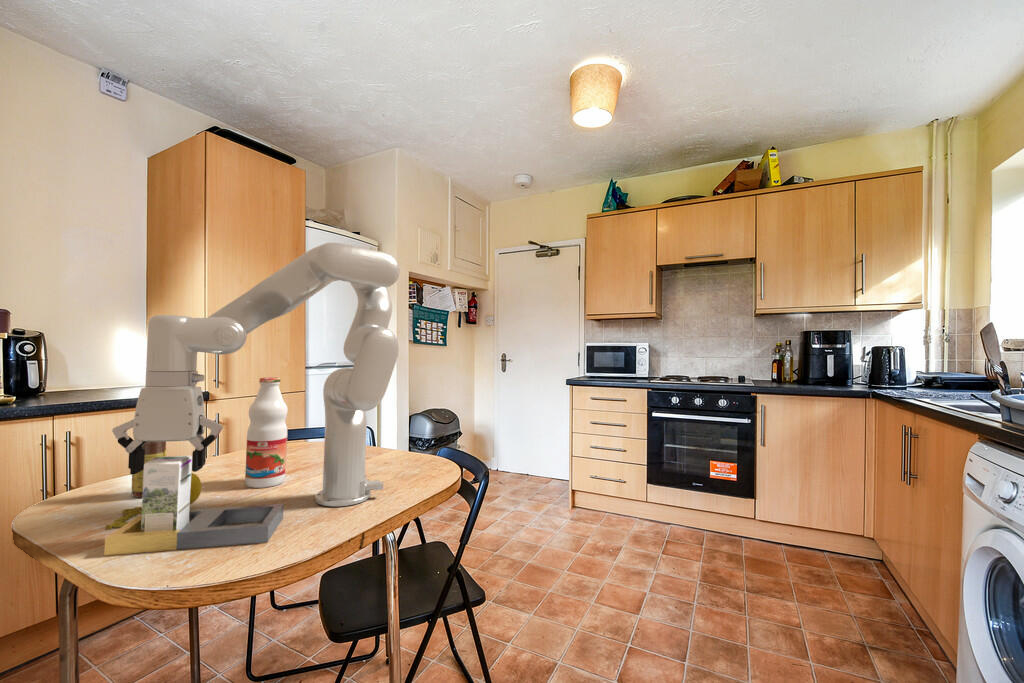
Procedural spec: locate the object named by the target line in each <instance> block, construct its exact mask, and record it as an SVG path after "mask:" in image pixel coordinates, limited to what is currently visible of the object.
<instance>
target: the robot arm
mask: <svg viewBox="0 0 1024 683" xmlns="http://www.w3.org/2000/svg"><path fill="white" fill-rule="evenodd" d="M400 274H401V272H400V266H399V263H398V262H397V260H396V258H394V257H393V256H392V255H391V254H390V253H387V252H385V251H380V250H375V249H370V248H366V247H361V246H356V245H352V244H346V243H342V242H341V243H340V242H326V243H323V244H321V245H318V246H316V247H313V248H312V249H310V250H307V251H306V252H305V253H303V254H301V255H300V256H298V257H297V258H296V259H294V260H292V261H291V262H289V263H287V264H286V265H285V266H283V267H281V268H280V269H279V270H277V271H276V272H274V273H272V274H271V275H269V276H268V277H266V278H265V279H263V280H262V281H260V282H259V283H257V284H255V285H253V287H251V288H250V289H249V290H248V291H246V292H245V293H244V294H241V295H240V296H238V297H237V298H236V299H234V300H232V301H231V302H228V304H226V305H225V306H222V307H221V308H220V309H218V310H216V311H215V312H214V313H213V314H211V315H209V316H208V317H192V316H186V315H176V314H174V315H173V314H155V315H152V316H151V317H150V318H149V320H148V321H147V322H148V323H147V337H146V338H147V341H146V362H145V364H146V365H145V387H142V388H140V391H139V395H138V396H137V397H138V398H137V402H136V405H135V410H134V417H133V418H132V419H131V420H129V421H127V422H124V423H121V424H119V425H118V426H116V427H113V428H112V429H111V432H112V434H113V435H114V437H115V439H117V443H118V444H119V445H120V446H121V447H123V448H124V450H125V452H126V453H128V470H129V474H130V475H132V474H136V473H138V472H140V471H142V470H144V459H145V450H144V449H142V446H143V445H144V444H145V443H146V442H166V443H167V442H186V441H188V442H189V443H190V444H191V445H192V446H193V447H194V449H195V450H193V451H192V455H191V456H192V470H191V472H192V473H194V472H198V471H200V470H201V469H203V468H204V466H205V465H206V461H207V460H206V458H207V447H209V445H211V444H212V443H213V442H215V441H216V440H217V438H218V436H219V435H220V434H221V432H222V430H223V429H224V426H223V425H222V424H221V423H218V422H217V421H214V420H212V419H209V418H207V417H206V415H205V414H206V412H205V404H204V403H205V401H204V395H203V390H202V387H201V386H196V385H198V383H199V382H204V381H205V374H200V373H199V372H198V369H197V366H198V363H197V362H198V353H199V352H200V353H206V354H207V353H208V354H214V355H225V356H226V355H230V354H231V355H232V354H234V353H236V352H238V351H239V350H241V349H242V348H243V347H244V346H245V344H246V342H247V339H248V334H250V333H251V332H253V331H254V330H256V329H258V328H259V327H261V326H262V325H264V324H266V323H268V322H271V321H273V320H275V319H278V318H280V317H282V316H285V315H287V314H289V313H291V312H292V311H295V310H296V309H297V308H299V307H300V306H301V305H302V304H304V303H305V302H306V301H308V300H309V299H310V298H312V297H313V296H314V295H316V294H317V293H318V292H320V291H322V290H323V289H324V288H326V287H328V285H330V284H331V283H333V282H338V281H341V282H342V281H343V282H348V283H350V285H351V286H352V288H353V290H354V291H355V294H356V296H357V308H356V312H355V315H354V317H353V320H352V323H351V325H350V328H349V330H348V333H347V335H346V337H345V340H344V343H343V354H344V356H345V358H346V359H347V360H348V361H349V362H351V363H353V366H352V368H351V367H350V368H349V367H343V368H339V369H335V370H334V371H332V372H331V373H330V374H329V375H328V376H327V378H326V380H325V381H324V384H323V389H322V391H323V393H322V396H323V406H324V420H325V422H324V446H323V448H324V449H323V469H322V471H323V472H322V473H323V474H322V490H319V491H318V492H316V494H315V495H314V501H315V503H317V504H318V505H321V506H325V507H347V506H353V505H357V504H361V503H362V502H365V501H367V500H368V499H369V498H370V497H371V495H372V494H371V493H372V492H371V491H372V490H373V491H381V490H384V481H379V479H373V480H369V479H367V474H366V449H367V426H368V422H367V413H366V412H368V411H372V410H373V409H375V408H377V407H378V405H379V404H380V403H381V402H382V400H383V399H384V396H385V395H386V392H387V389H388V387H389V384H390V380H391V378H392V375H393V372H394V369H395V366H396V363H397V361H398V357H399V350H400V349H399V342H398V338H397V337H396V334H394V332H393V331H391V329H389V324H390V320H391V318H392V312H393V303H392V299H391V296H390V294H389V293H390V292H389V291H388V289H387V288H389V287H392V286H393V285H394V284H396V283H397V280H398V279H399V277H400ZM206 428H207V429H209V430H210V432H209V434H208V435H207V437H204V436H203V435H204V433H205V430H206ZM130 429H132V435H133V438H132V437H131V436H130V435H128V430H130Z"/></svg>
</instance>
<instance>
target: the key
mask: <svg viewBox="0 0 1024 683" xmlns="http://www.w3.org/2000/svg"><path fill="white" fill-rule="evenodd" d="M121 514H122V515H123V516H121V517H119V518H117V519H115V520H114V521H113V522H112V523H110V524H106V525H105V527H104V529H105V530H112V529H115V528H121V527H123V526H124V525H126V524H127V523H129V521H128V520H129V519H132V518H134V517H137V515H138V516H139V515H141V514H142V506H137V507H131V508H127V509H125V508H124V509H122V511H121Z"/></svg>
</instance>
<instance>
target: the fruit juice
mask: <svg viewBox="0 0 1024 683" xmlns="http://www.w3.org/2000/svg"><path fill="white" fill-rule="evenodd" d="M258 382H259V389H258V391H257V394H256V396H255V399H254V400H253V402H252V404H250V406H249V409H248V418H249V420H250V422H249V426H248V427H247V432H246V433H247V434H246V451H245V453H246V454H245V455H246V456H245V470H244V472H245V473H244V474H245V475H244V476H245V477H244V483H245V486H246V487H249V488H253V489H258V488H259V489H261V488H262V489H263V488H270V487H275V486H279V485H281V484H282V483H284V482H285V481H286V474H287V454H288V453H287V452H288V451H287V450H288V425H287V422H286V420H287V416H288V412H289V410H288V405H287V404H286V402H285V400H284V398H283V397H284V396H283V395H282V392H281V389H280V384H281V378H280V377H260V378H259V380H258Z"/></svg>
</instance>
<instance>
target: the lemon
mask: <svg viewBox="0 0 1024 683" xmlns="http://www.w3.org/2000/svg"><path fill="white" fill-rule="evenodd" d="M201 493H202V482H201V479H200V477H199V476H198V475H197V474H195V473H194V472H191V488H190V505H191V504H193V503H194V502H196V501H197V500H198V499H199V497H200V496H201Z"/></svg>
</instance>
